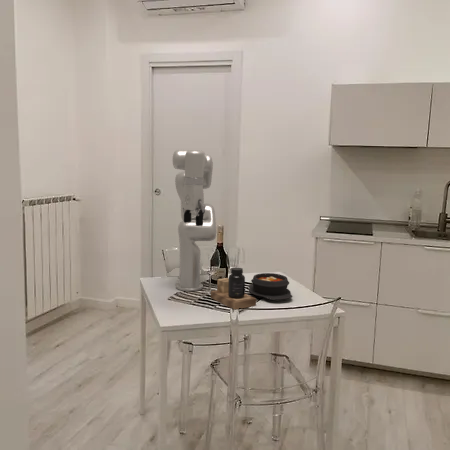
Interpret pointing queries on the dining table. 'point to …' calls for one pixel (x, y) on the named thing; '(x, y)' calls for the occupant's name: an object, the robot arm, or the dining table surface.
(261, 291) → the casserole
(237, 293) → the supplement bottle
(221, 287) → the oak cube
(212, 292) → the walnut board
